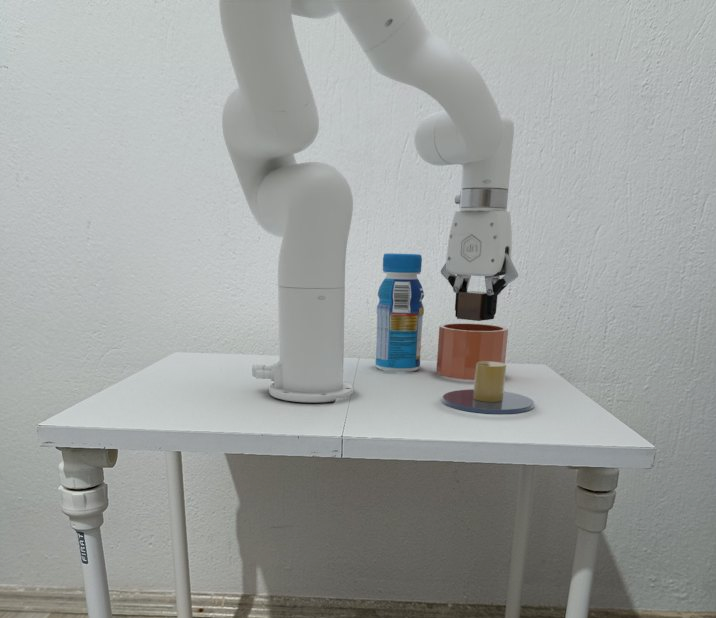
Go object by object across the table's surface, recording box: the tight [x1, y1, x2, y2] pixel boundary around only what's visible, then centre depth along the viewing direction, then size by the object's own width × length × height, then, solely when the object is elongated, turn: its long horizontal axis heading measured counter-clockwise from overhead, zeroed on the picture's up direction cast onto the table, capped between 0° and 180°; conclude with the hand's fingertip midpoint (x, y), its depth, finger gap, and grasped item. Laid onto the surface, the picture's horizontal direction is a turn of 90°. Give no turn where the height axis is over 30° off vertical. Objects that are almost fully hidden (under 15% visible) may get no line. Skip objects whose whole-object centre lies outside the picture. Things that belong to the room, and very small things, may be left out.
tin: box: [435, 322, 509, 381], centre depth 115 cm, size 12×12×8 cm
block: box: [456, 290, 487, 322], centre depth 112 cm, size 4×4×4 cm
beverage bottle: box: [375, 252, 425, 373], centre depth 118 cm, size 8×8×20 cm
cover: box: [441, 361, 535, 415], centre depth 94 cm, size 13×13×6 cm
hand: (474, 316), depth 113 cm, fingers closed on block, 4 cm apart
